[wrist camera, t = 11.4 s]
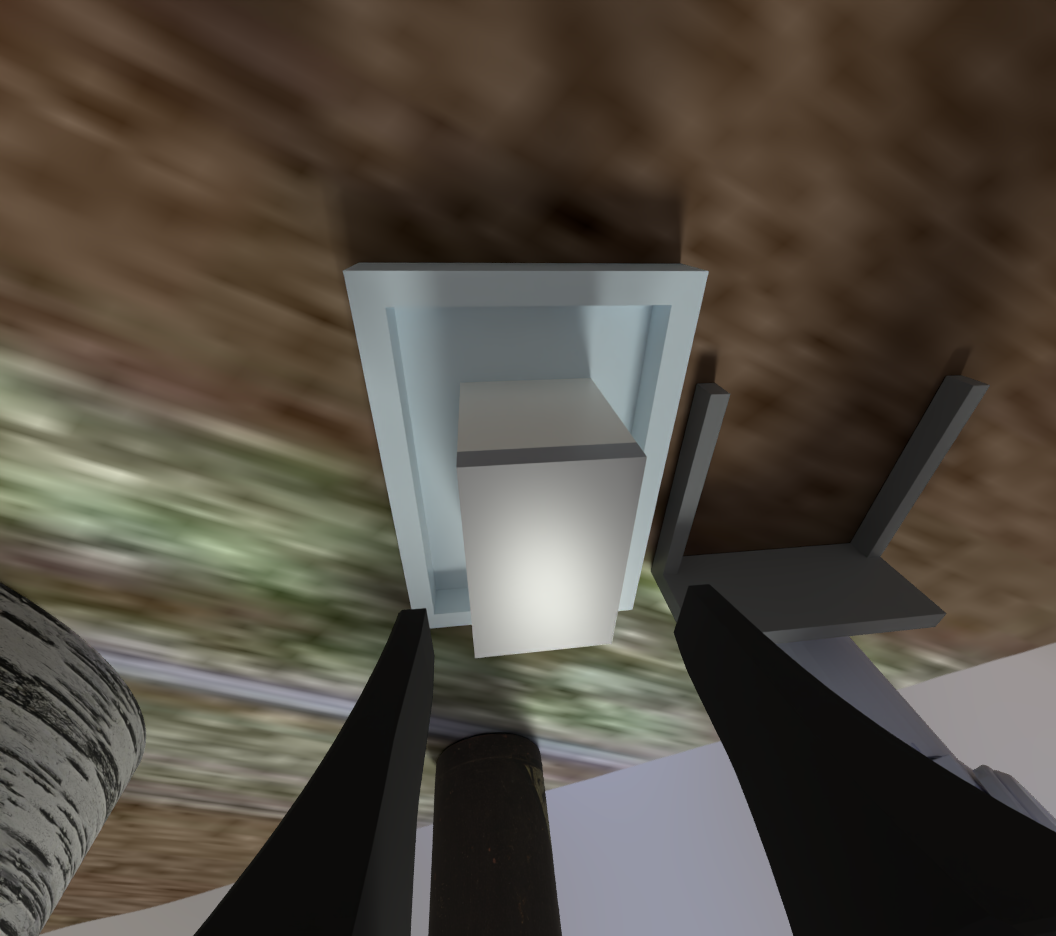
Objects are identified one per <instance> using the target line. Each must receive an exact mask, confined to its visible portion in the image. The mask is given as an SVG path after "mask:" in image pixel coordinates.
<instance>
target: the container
mask: <svg viewBox="0 0 1056 936" xmlns="http://www.w3.org/2000/svg"><path fill="white" fill-rule="evenodd" d="M432 846H433V848H432V868H431V892H430V912H429V934H428V936H562V932H561V924H560V915H559V907H558V900H557V890H556V882H555V874H554V864H553V854H552V845H551V837H550V829H549V821H548V813H547V804H546V796H545V787H544V778H543V770H542V762H541V755H540V751H539V749H538V748H537V746H536V745H535V744H534V743H533V742H531V741H530V740H528V739H526V738H524V737H521V736H517V735H513V734H486V735H479V736H474V737H471V738H468V739H465V740H462V741H460V742H458V743H455V744H453V745H452V746H450V747H449V748H447V749H446V750H445V751H444V752H443V753H442V754H441V755H440V757H439V758H438V761H437V765H436V777H435V794H434V820H433V845H432Z"/></svg>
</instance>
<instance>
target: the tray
mask: <svg viewBox="0 0 1056 936" xmlns="http://www.w3.org/2000/svg"><path fill="white" fill-rule="evenodd" d="M708 272H709V271H706V270H703V269H699V268H695V267H692V266H688V265H684V264H632V263H357V264H355V265H353V266H351V267H349V268H347V269H345V270H343V273H344V278H345V283H346V288H347V293H348V297H349V302H350V307H351V312H352V317H353V322H354V327H355V332H356V337H357V342H358V347H359V352H360V357H361V362H362V367H363V372H364V377H365V382H366V387H367V392H368V396H369V401H370V406H371V411H372V416H373V421H374V426H375V431H376V436H377V441H378V446H379V451H380V456H381V461H382V466H383V471H384V476H385V481H386V486H387V490H388V495H389V500H390V505H391V510H392V515H393V520H394V525H395V530H396V535H397V540H398V545H399V550H400V555H401V560H402V565H403V570H404V575H405V580H406V584H407V589H408V594H409V599H410V604H411V609H421V608H426V610H427V616H428V621H429V627H430V628H441V627H451V626H462V625H472V621H471V611H470V601H469V591H468V581H467V571H466V561H465V550H464V540H463V530H462V520H461V510H460V500H459V490H458V479H457V469H456V464H457V441H458V419H459V397H460V382H489V381H518V380H546V379H575V378H591V379H592V380H593V382H594V383H595V385H596V386H597V387H598V389H599V390H600V392H601V393H602V394H603V396H604V397H605V399H606V400H607V401H608V403H609V404H610V406H611V407H612V408H613V410H614V411H615V413H616V414H617V415H618V417H619V418H620V420H621V421H622V422H623V424H624V425H625V427H626V428H627V429H628V431H629V432H630V434H631V435H632V436H633V438H634V439H635V441H636V442H637V443H638V445H639V446H640V448H641V449H642V450H643V452H644V453H645V455H646V456H647V460H646V465H645V470H644V476H643V481H642V486H641V491H640V497H639V502H638V507H637V513H636V518H635V523H634V529H633V534H632V539H631V544H630V550H629V555H628V560H627V566H626V571H625V576H624V582H623V587H622V592H621V597H620V603H619V608H618V611H624V610H632V608H633V604H634V600H635V595H636V591H637V586H638V582H639V577H640V573H641V569H642V564H643V560H644V555H645V551H646V546H647V542H648V537H649V533H650V529H651V524H652V520H653V515H654V511H655V506H656V502H657V498H658V493H659V489H660V484H661V480H662V475H663V471H664V467H665V462H666V458H667V453H668V449H669V444H670V440H671V436H672V431H673V427H674V422H675V418H676V413H677V409H678V405H679V400H680V396H681V391H682V387H683V382H684V378H685V374H686V369H687V365H688V360H689V356H690V351H691V347H692V343H693V338H694V334H695V329H696V325H697V320H698V316H699V312H700V307H701V303H702V298H703V294H704V289H705V285H706V281H707V276H708Z"/></svg>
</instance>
